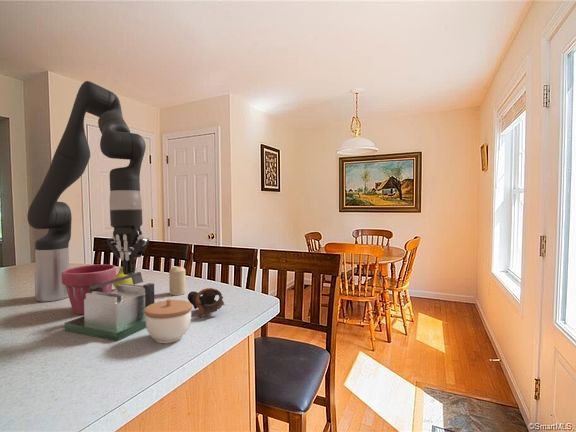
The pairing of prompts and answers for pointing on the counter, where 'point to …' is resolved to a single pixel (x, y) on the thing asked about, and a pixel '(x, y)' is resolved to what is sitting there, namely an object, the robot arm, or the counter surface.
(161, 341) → the lidded jar
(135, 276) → the grey long bar
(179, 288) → the candle
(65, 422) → the counter surface
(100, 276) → the plant pot
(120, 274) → the fruit
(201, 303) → the brown glossy rounded piece
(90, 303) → the heat sink board
